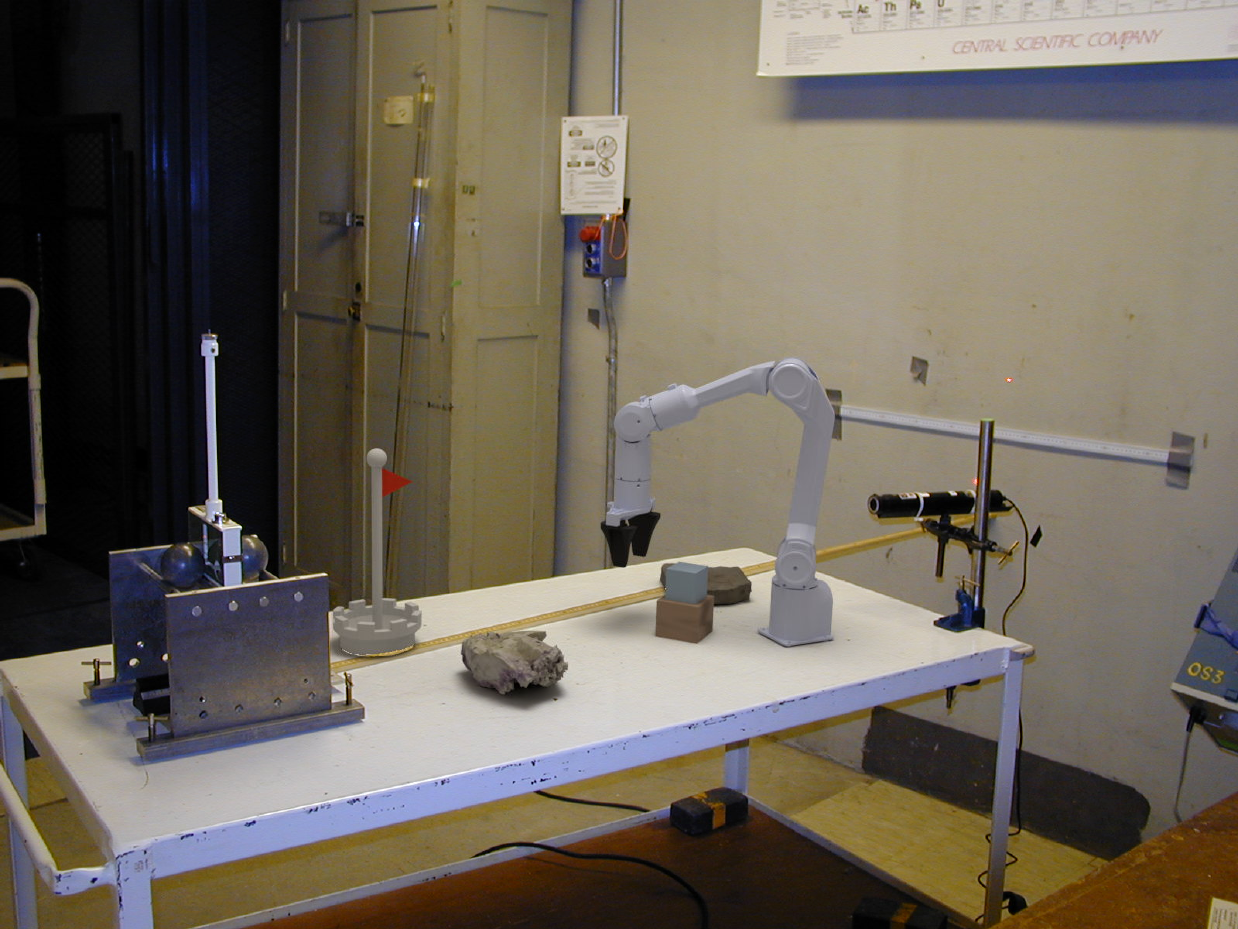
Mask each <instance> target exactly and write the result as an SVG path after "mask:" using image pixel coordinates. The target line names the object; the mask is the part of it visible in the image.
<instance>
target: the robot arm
mask: <svg viewBox="0 0 1238 929" xmlns="http://www.w3.org/2000/svg"><path fill="white" fill-rule="evenodd" d="M774 364H775V365H774ZM768 392H770V394H771V395H772V396H773V397H774V398H775V400H777V401H779V402H780V403H782V404H783V405H784V406H786V407H788V408H789V409H791V410H792V411H793V413H794V414H795V415H796V416H797V418H798V419H799V420H800V421H801V422H802V423H803V430H802V436H801V443H800V449H799V454H798V459H797V460H798V461H797V467H796V474H795V478H794V486H793V490H792V491H793V492H792V497H791V502H790V508H789V515H788V522H787V526H786V532H785V535H784V538H783V539H782V541H781V542H780V543H779V544H778V547H777V550H776V560H775V564H774V572H775V575H773V576H772V577H771V589H770V604H769V605H770V606H769V622H768V623H769V626H768V627H762V628H761V627H760V628H758V629H757V633H759V634H761V635H763V636H765V637H766V638H769V639H771V640H772V641H773V642H774V641H775V642H776V643H778V644H780V645H782V646H784V647H791V646H799V645H803V644H804V645H805V644H811V643H818V642H823V641H829V640H834V638H835V637H834V635H833V634H832V621H833V606H834V605H833V603H834V598H833V593H832V592H833V591H832V590H831V587H830V586H829V584H828V583H827V582H826V581H825V580H822V579H818V578H817V577H816V572H817V565H816V564H817V563H816V561H817V549H816V547H815V539H816V532H817V526H818V525H817V524H818V520H819V519H818V518H819V513H820V509H821V503H822V502H821V501H822V495H823V490H824V485H825V484H824V483H825V479H826V472H827V467H828V462H829V461H828V460H829V455H830V449H831V442H832V437H833V433H834V427H835V426H834V425H835V420H836V415H835V414H836V413H835V409H834V407H833V405H832V404H831V401H830V400H829V397H828V395H827V393H826V390H825V389H824V387H823V385H822V382H821V381H820V378H819V376H818V373H817V372H816V371H815V370H814V369H813V368H812V367H811V366H810V365H809V364H808V363H807V362H806V361H804V360H803V359H802V358H800V357H796V356H788V357H784V358H781V359H780V360H779V361H777V362H776V360H771V361H767V362H763V363H759V364H756V365H752V366H749V367H747V368H744V369H741V370H739V371H736V372H734V373H731V374H729V375H725V376H724V377H721V378H719V379H716V380H714V381H712V382H709V383H707V384H704V385H702V386H698V387H696V388H694V387H691V386H688V385H686V384H681V385H678V384H677V383H675V382H674V383H672V384H670V385H668V386H667V390H666V389H665V390H664V391H662V392H658V393H655V394H653V395H651V396H647V395H646V394H645V395H642V396H640V397H638V398H639V401H631V402H629V403H627V404H625V405H624V406H623V407H621V409H619V410H618V411H617V413H616V415H615V417H614V421H613V428H614V431H615V432H616V440H615V444H616V449H615V456H614V457H615V458H614V461H615V462H614V485H613V486H614V490H613V501H608V502H607V503H606V505H607V506H606V507H607V508H609V509H610V510H609V511H607V512H606V513H605V514H606V515H605V518H606V519H605V520H603V521H601V522H600V529H601V532H602V534H603V535H604V537H605V540H606V542H607V545H608V548H609V554H610V558H611V564H612V566H613V567H618V568H622V569H625V568H627V566H628V563H629V558H630V557H629V556H630V551H631V552H632V556H634V557H635V556H636V557H641V558H642V557H643V558H645V557H646V556H647V555H648V550H649V548H650V543H651V541H652V540H651V539H652V536H653V533H654V530H655V528H656V527H657V524H658V523H659V521H660V519H661V518H662V517H661V512H658V511H657V512H656V511H654V510H656V497H651V475H652V474H651V473H652V472H651V471H652V449H651V445H652V442H651V441H652V434H651V432H658V433H659V432H662V431H665V430H668V429H671V428H673V427H676V426H680V425H681V424H685V423H687V422H690V421H693V420H696V419H697V417H698V416H699V413H700V412H701V409H702V408H704V407H708V406H711V405H714V404H717V403H720V402H723V401H726V400H729V399H732V398H735V397H738V396H742V395H745V394H747V393H749V394H750V393H751V394H754V395H759V396H763V397H767V396H768ZM630 549H631V550H630Z"/></svg>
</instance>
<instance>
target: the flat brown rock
mask: <svg viewBox="0 0 1238 929" xmlns="http://www.w3.org/2000/svg"><path fill="white" fill-rule="evenodd" d="M676 563H677V562H676ZM676 563H674V562H670V563H669V562H668V563H663V564H662V565H661V568H660V578H659V581H660V583H661V584H662V586H664V587H665V588H666V569H667V568H669V567H670V566H672V565H674V564H676ZM744 572H745V571H743V570H742V569H741V567H739V566H721V565H720V566H714V567H713V566H712V567H711V566H708V581H707V595H712V596H714V605H722V604H726V605H729V604H736V603H738V602H741V601H748V600H750V596H751V593H753V592H752V591H753V590H752V584H753V582H752V581H751V580H750V579H749V578H748V576H746V575H745V573H744ZM664 587H663V588H664Z"/></svg>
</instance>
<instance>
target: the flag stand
mask: <svg viewBox="0 0 1238 929" xmlns="http://www.w3.org/2000/svg"><path fill="white" fill-rule="evenodd" d="M387 457H388V456H387V453H386V452H385V451H384V450H383V449H381V448H377V447H376V448H372V449H371V450H369V451H368V452H367V455H366V462H367V464H368V466H369V467H371V575H372V576H371V589H372V590H371V597H372V598H371V600H372V601H371V605H366V604H367V600H365V599H364V598H363V599H356V600H352V601H348V609H345V606H336V607H335V608H334V609H333V610H332V629H333V631H334V633H336V634H337V635H338V636H339V644H340V646H339V647H341V648H342V649H343V650H345V651H347V652H349V653H352V654H359V655H366V654H380V653H386V652H392V651H396V650H402V649H405V648H407V647H410V646H412V645H413V644H414V643H416V642H415V641H416V639H415V638H416V637H415V636H416V635H415V634H416V633H417V632H418V631H419V630H420V629H421V627H422V623H423V622H422V621H423V620H422V610H420V609H419V608H420V607H419V604H417V603H415V602H412V601H407V602H404V606H397V598H389V597H388V598H386V597H384V598H383V498H385V497H386V496H388V495H390V494H391V493H394V492H396V491H397V490H400V489H402V488H403V487H405V486H408V485H409V484H412V483H413V481H412V480H410V479H408V478H406V477H403V476H401V475H399V474H396V473H394V472H392V471H391V470H388V469H385V468H384V466H385V465H386V463H387V460H388V458H387ZM414 645H415V644H414ZM341 648H340V649H341Z"/></svg>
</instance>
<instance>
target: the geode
mask: <svg viewBox="0 0 1238 929" xmlns="http://www.w3.org/2000/svg"><path fill="white" fill-rule="evenodd" d="M547 636H548V635H547V632H546V630H545V631H544V630H520V631H519V630H518V631H508V632H503V633H502V632H501V633H498V632H493V631H486V633H485V634H482V632H479V634H476V635H472V634H471V635H470V636H469V637H467V638H465V639H464V640H462V641H461V650H460V655H461V656H462V657H461V660H462V664H464V666H465V668H466V670H468V671H469V672H470V673H471V674H472V678H474V680H475V681H476V683H477V686H480V687H482V688H484V687H485V688H489V689H493V688H495V689H496V691H498V693H499V694H501V695H505V694H506V693H509V692H511V690H514V689H515V685H514V684H518V683H519V686H520V687H521V688H522V687H524V688H525V689H526V688H527V687H528V686H529V684H533V685H535V686H536V685H540V686H541V687H543V688H545V687H546V688H547V687H548V688H549V687H550V686H551V685H552V684H558V682H559V681H561V680H562V678H564V673H566V672H567V671H568V670H569V662H566V661H565V659H564V658H565V654H563V653H562V650H561V649H560V648H559V647H558V644H556V645H554V646H551V645H550V644H547V643H546V642H545V641H544V640H545V639H546V638H547Z"/></svg>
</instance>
